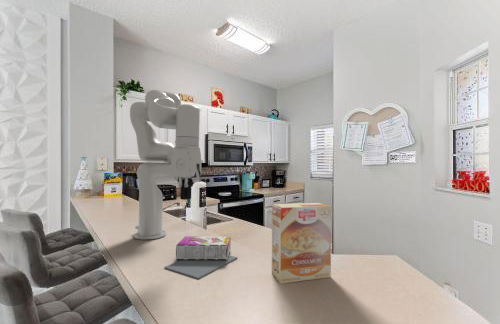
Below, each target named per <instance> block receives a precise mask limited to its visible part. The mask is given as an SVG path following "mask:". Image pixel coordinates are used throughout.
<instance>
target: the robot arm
mask: <svg viewBox="0 0 500 324" xmlns="http://www.w3.org/2000/svg"><path fill="white" fill-rule="evenodd" d="M200 114H201V112H200V108H199V107H198V106H196V105H193V104H182V100H181V98H180V96H179V95H178V94H176V93H174V92H169V91H166V90H165V91H163V90H159V89H152V90H148V91H147V92H146V94H145V96H144V101H135V102H133V103H132V104H131V105H130V107H129V119H130V123H131V125H132V128H133V130H134V132H135V135H136V143H137V150H138V151H137V152H138V156H139V159H140V160H141V161H143V163H141V164H140V165H139V166H138V168H137V170H136V177H137V183H138V225H136V226H135V227H134V228H135V230H137V232H136V233H135V234H134V236H133V237H134V238H135V239H136V240H142V241H144V240H145V241H146V240H149V241H150V240H155V239H160V238H163V237H165V236H166V235H167V232H166V231H165V230H163V211H164V209H163V208H164V207H163V205H164V204H163V203H164V202H163V200H164V199H163V198H164V197H163V192H162V190H161V189H160V188H159V187H158V185H172V184H173V185H174V184H176V183H177V182H178V186H179V187H180V199H181V200H183V201H185V200H191V199H192V188H193V186H194V184H195V183H198V182H200V179H201V178H200V177H201V176H202V155H201V147H199V146H200V121H201V120H200V117H201V116H200ZM148 122H150V123H151V124H152V125H153V126H155V127H157V128H159V129H167V130H175V140H174V144H175V146H174V144H172V143H171V142H168V141H159V140H158V139H157V132H156V131H155V128H154V127H153V126H152V125H151V124H149V123H148Z"/></svg>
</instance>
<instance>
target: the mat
mask: <svg viewBox="0 0 500 324" xmlns="http://www.w3.org/2000/svg"><path fill="white" fill-rule="evenodd" d="M237 259H238V257H237V256H234V255H230V254H229V255H228V259H227V260H177V261H176V262H173V263H170V264H168V265H166V266H164V269H166V270H169V271H172V272H175V273H177V274H181V275H184V276H188V277H190V278H193V279H197V280H200V279H202V278H203V277H206V276H208V275H209V274H211V273H213V272H214V271H217V270H219V269H221V268H222V267H225V266H226V265H228V264H230V263H232V262H233V261H235V260H237Z"/></svg>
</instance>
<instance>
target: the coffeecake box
mask: <svg viewBox="0 0 500 324" xmlns="http://www.w3.org/2000/svg"><path fill="white" fill-rule="evenodd" d="M271 208H272V209H271V219H272V220H271V274H272V275H273V276H274V278H275V279H276V280H277V281H278V282H279V284H288V283H295V282H303V281H312V280H320V279H326V278H327V279H328V278H331V277H332V276H331V275H332V273H331V272H332V271H331V270H332V257H331V255H332V250H331V248H332V245H331V244H332V242H331V241H332V240H331V238H332V236H331V235H332V232H331V231H332V221H331V220H332V206H331V205H329V204H325V203H322V202H321V203H320V202H299V203H296V202H295V203H272V204H271Z"/></svg>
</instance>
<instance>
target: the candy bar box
mask: <svg viewBox="0 0 500 324" xmlns="http://www.w3.org/2000/svg"><path fill="white" fill-rule="evenodd" d="M231 238H232V237H231V236H228V235H227V236H225V235H224V236H223V235H222V236H218V235H217V236H214V235H213V236H211V235H210V236H203V235H202V236H200V235H199V236H190V235H188V236H186V235H185V236H184V237H183V238H182V239H181V240H180V241H179V242H178V243H177V244H176V245H175V260H176V261H180V260H227V259H228V255H229V256H230V252H231V246H232V245H231V243H232V242H231V241H232V239H231Z"/></svg>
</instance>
